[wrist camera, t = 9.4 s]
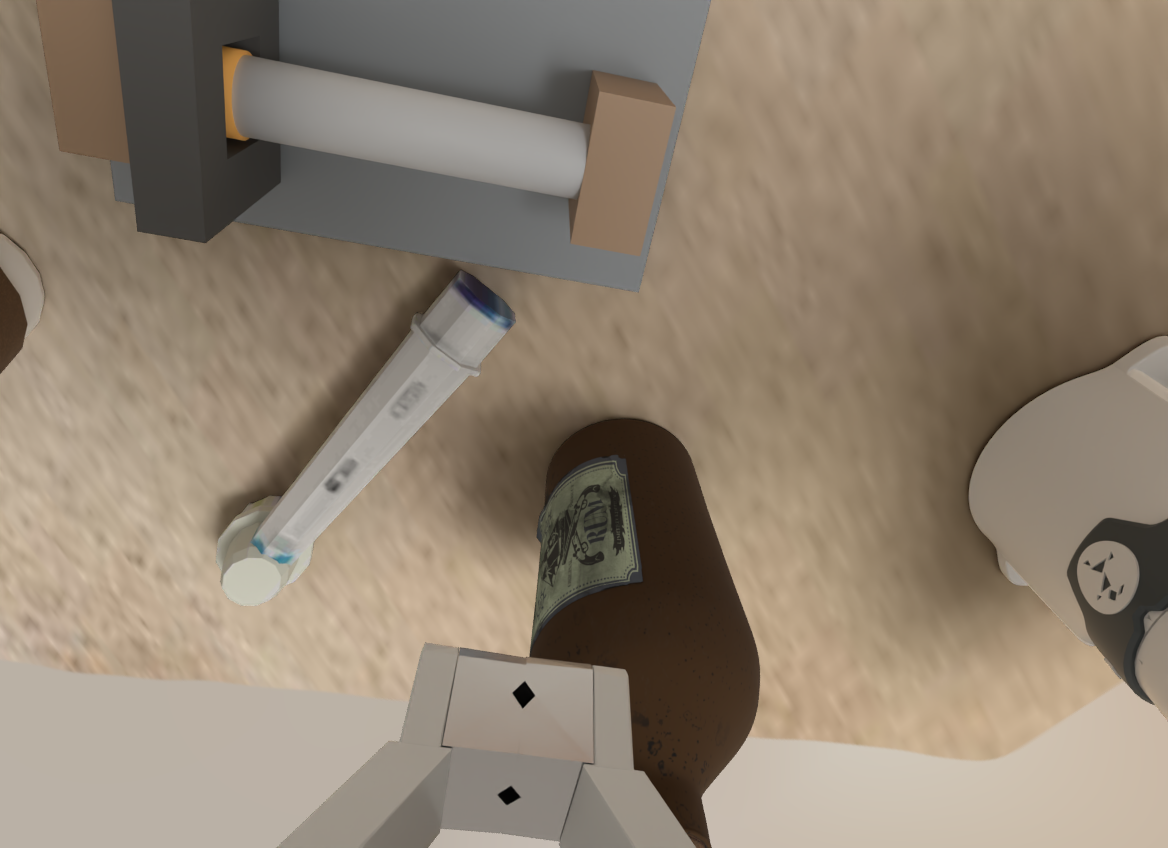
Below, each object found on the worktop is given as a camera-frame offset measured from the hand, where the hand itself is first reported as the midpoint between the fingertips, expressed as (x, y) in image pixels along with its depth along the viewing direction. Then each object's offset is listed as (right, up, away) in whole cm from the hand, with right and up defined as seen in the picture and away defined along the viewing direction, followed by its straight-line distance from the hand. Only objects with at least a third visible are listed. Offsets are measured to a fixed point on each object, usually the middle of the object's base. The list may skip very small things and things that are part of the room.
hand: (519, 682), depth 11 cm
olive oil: (+3, 0, +37) cm, 37 cm away
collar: (-14, +19, +22) cm, 32 cm away
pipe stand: (-8, +19, +25) cm, 32 cm away
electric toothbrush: (-13, +4, +35) cm, 37 cm away
